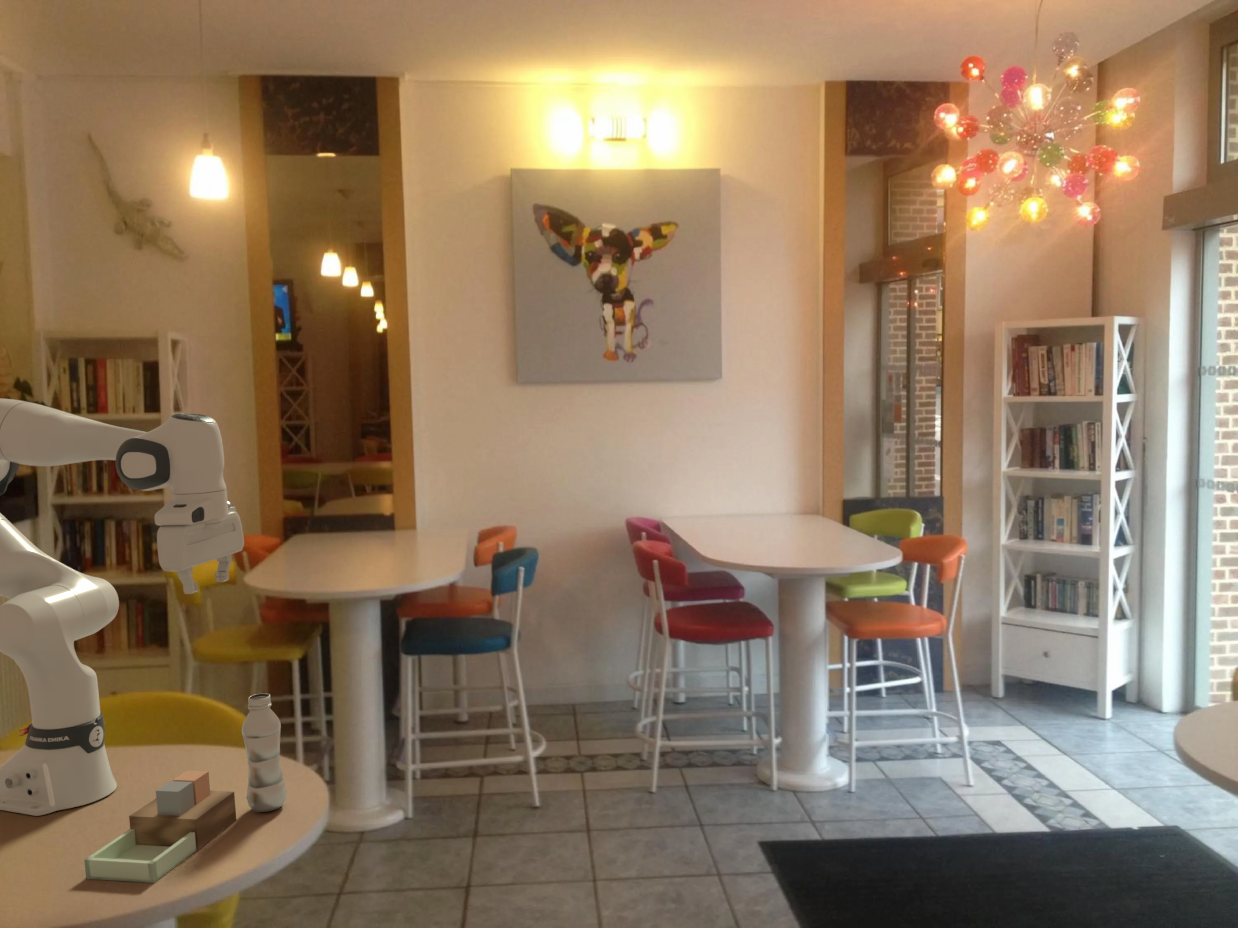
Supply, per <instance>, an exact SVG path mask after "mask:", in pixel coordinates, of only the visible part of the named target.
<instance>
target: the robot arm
mask: <svg viewBox="0 0 1238 928" xmlns="http://www.w3.org/2000/svg"><path fill="white" fill-rule="evenodd" d="M222 438H223V437H222V434H221V430H220V427H219V424H218V423H217V421H216V420H215V419H214V418H212V417H211V416H208V415H205V414H198V413H188V412H187V413H185V412H184V413H183V412H182V413H176V414H172V415H170V416H169V417H168V418H167V420H166V421H164V423H162V424H161V425H159V426H157V427H156V428H153V429H151V430H150V431H148V430H142V429H138V428H137V429H136V428H132V427H127V426H121V425H115V424H111V423H105V422H101V421H99V420H94V419H91V418H87V417H83V416H81V415H76V414H73V413H70V412H67V411H63V410H60V409H58V408H54V407H50V406H46V405H43V404H40V403H35V402H30V401H26V400H19V399H14V398H12V399H11V398H1V397H0V496H2V495H4V494H5V493H6V492H7V489H8V486H9V484H10V483H11V482H12V481H13V479H14V478H15V477H16V475H17V473H18V471H19V468H20V465H23V466H31V467H56V466H57V467H58V466H63V465H64V466H65V465H70V464H76V463H77V464H78V463H83V462H85V463H86V462H91V461H107V460H108V461H115V469H116V473H117V475H118V477H119V478H120V480H121V481H122V482H123V484H125V486H127V487H128V488H130V489H132V490H135V491H144V492H145V491H147V492H148V491H155V490H161V489H166V488H170V490H171V499H170V500H169V501H168V502H167V503H166V504H165V505H164V506H163V507H161V508H160V509H159V510H157V511H156V512H155V514H154V524H155V525H156V526H159V528H158V530H157V533H156V545H157V548H156V549H157V557H158V562H159V566H160V568H161V569H162V570H163V571H164V572H176V573H177V577H178V579H179V580H180V582H181V584H182V589H183V593H184V594H185V595H192V594H195V593H198V591H199V588H198V586H199V584H198V581H195V580H194V578H193V575H192V574H193V573H194V567H197V566H200V565H203V564H205V563H209V562H212V561H213V562H214V561H216V562H217V563H218V565H217V571H215V572H214V577H215V582H216V583H224V582H227V581H229V580H230V574H229V571H230V567H231V565H232V562H233V561H232V560H233V558H232V555H233V554H236V553H239V552H242V551H243V549H244V545H245V539H244V538H245V537H244V531H243V525H242V521H241V516H240V515H239V513H238V512H237V508H236V506H235V505H234V504H233V503H232V502H231V501H228V490H227V488H228V487H227V484H226V482H225V479H224V469H225V464H226V463H225V453H224V444H223V439H222ZM0 597H2V598H6V599H8V600H7V601H5V602H4V603H2V604H0V653H1V654H3V655H5V656H6V657H9V658H10V659H12V660H13V661H14V662H15V663H16V665H17V667H18V668H19V670H20V671H21V673H22V676H23V678H24V680H25V683H26V687H27V690H28V700H29V707H30V713H31V723H30V724H29V725H28V726H26V727H24V728H22V729H19V733H20V734H19V736H20V737H22V736H25V735H27V736H26V739H25V742H24V744H23V745H22V747H21V748H19V750H17V751H16V752H15V753H14V754H13V755H12V756H10V757H9V758H8V759H7V760H6V761H5V762H3V764H1V765H0V811H6V812H12V813H18V814H23V815H28V816H29V815H30V816H36V817H38V816H43V815H47V814H51V813H53V812H56V811H61V810H67V809H72V808H75V807H76V808H77V807H80V806H85V805H88V804H90V803H94V802H96V801H99V800H101V799H103V798H105V797H107V796H109V795H111V794H112V793H113V792H114V791H115V790H116V789H117V787H118V783H117V782H116V780H115V777H114V774H113V772H112V768H111V765H110V762H109V758H108V754H107V753H108V752H107V749H106V746H105V735H106V734H105V732H106V727H105V719H104V713H103V712H101V706H100V705H101V704H100V694H99V683H98V676H97V673H96V671H95V670H94V669H93V668H91V667H90V666H88V665H86V664H83V663H82V662H81V661H80V659H79V657H78V655H77V652H76V649H75V641H78V640H81V639H83V638H86V637H88V636H91V635H94V634H96V633H97V632H99V631H100V630H102V629H104V628H105V627H106V626H107V625H109V624H110V623H111V622H112V621H113V620H114V619H115V618H116V616H117V615H118V611H119V607H120V600H119V599H120V598H119V595H118V592H117V590H116V589H115V587H114V586H113V585H112V584H111V583H110V582H109V581H108V580H106V579H104V578H101V577H98V576H92V575H88V574H85V573H82V572H80V571H78V570H76V569H73V568H72V567H70V566H68V565H66V564H65V563H62V562H60V561H59V560H58V559H56V558H54V557H52V556H50V555H48V554H47V553H45V552H44V551H42V550H41V549H40V548H38V547H37V546H36V545H35V544H34V543H32V541H31V540H29V539H28V537H26V536H25V535H24V534H23V533H22V532H21V531H20V530H19V529H18V528H17V527H16V526H15V525H14V524H12V522H11V521H10V520H8V518H6V516H5V515H3V514H2V513H1V512H0ZM21 732H22V733H21Z"/></svg>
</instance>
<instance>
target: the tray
mask: <svg viewBox="0 0 1238 928" xmlns="http://www.w3.org/2000/svg"><path fill="white" fill-rule="evenodd" d="M196 851H197V850H196V841H195V832H190V833H188V834H187V835H186V836H184V837H183V838H182V839H180V840H179V841H178V842H176V843H175V844H173V845H172V846H171V847H168V846H150V845H136V840H135V829H130V828H129V829H128V830H126V831H125V832H124V833H122V834H120V835H119V836H117V837H116V838H115V839H113V840H111V841H110V842H109V843H107V844H105V845H104V846H102V847H101V848H99V849H98V850H97V851H95V852H94V853H92V854H91V855H89V856H88V857H86V858H85V859H84V869H85V870H84V871H85V879H87V880H99V881H100V880H103V881H114V882H115V881H117V882H118V881H119V882H133V883H148V884H149V883H150V884H156V882H158V881H159V880H160V879H162V878H163V877H164V876H165V875H166V874H168V873H169V872H171V870H173V869H175V867H177V866H178V865H179V864H181V863H182V862H183V861H185V860H186V859H188V858H189V857H190V856H192V854H194V853H195V852H196Z"/></svg>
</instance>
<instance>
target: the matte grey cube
mask: <svg viewBox="0 0 1238 928" xmlns="http://www.w3.org/2000/svg"><path fill="white" fill-rule="evenodd" d="M155 799H157V811H158V815H173V816H181V815H182V814H183V813H185V812H186V811H188V810H189V809H190V808H192V807H193V806H195V803H194V791H193V782H181V781H173V780H171V781H169V782H167V783H166V784H164V785H162V786H161V787H159V788H158V789H157V790H155Z"/></svg>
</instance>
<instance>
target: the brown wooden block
mask: <svg viewBox="0 0 1238 928" xmlns="http://www.w3.org/2000/svg"><path fill="white" fill-rule="evenodd" d="M236 809H237V808H236V799H235V791H223V790H210V795H209V796H208V797H206V798H205V799H203V800H202V801H200V802H199V803H198V804H195V806H193V807H192V808H190V809H189V810H188V811H186V812H185V813H183V814H182V815H181V816H173V815H158V811H157V799H156V798H155V799H153V800H151V801H150V802H149V803H147V804H146V805H144V806H143V807H141V808H139V809H138V810H136V811H134V812H132V814H130V815H129V816H128V819H129V827H130V828H129V829H135V840H136V845H150V846H168V847H171V846H172V845H173V844H175V843H176V842H178V841H179V840H180V839H182V838H183V837H184V836H186V835H187V834H188V833H190V832H195V841H196V851H198V850H200V849H202V847H204V846H205V845H206V844H208V843H209V842H210V841H212V840H213V839H214V838H216V837H217V836H218V835H220V833H222V832H224V830H226V829H227V828H229V827H230V826H231V825H232V824H234V823H235V822H236V821H237V812H236V811H237V810H236Z"/></svg>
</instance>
